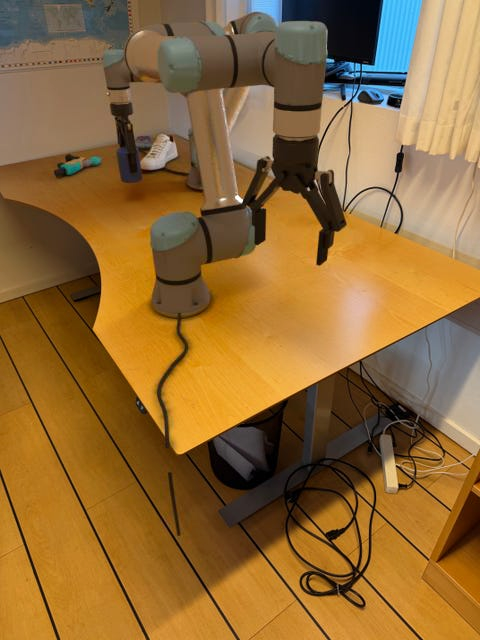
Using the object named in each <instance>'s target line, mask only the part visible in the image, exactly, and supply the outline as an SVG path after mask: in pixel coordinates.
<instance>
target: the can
mask: <svg viewBox="0 0 480 640" xmlns="http://www.w3.org/2000/svg"><path fill="white" fill-rule="evenodd" d="M136 150H137V154H135V156H136V163H137V170H138V172H135V173H130V170H129V163H128V156H127V155H126V154H127V153H128V151H127V147H122V148H121V147H119V148H117V149H116V158H117V163H118V165H117V166H118V171H119V177H120V181H121V182H122V183H125V184H135V183H139V182H141V181H143V174H142V169H141V165H140V162H141V159H140V150H138V148H136ZM132 151H133V150H132Z"/></svg>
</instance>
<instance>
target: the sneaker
mask: <svg viewBox="0 0 480 640" xmlns="http://www.w3.org/2000/svg"><path fill="white" fill-rule="evenodd" d="M153 142H154V144H153V146H152V148H151V149H150V150H148V153H147V155H145V156H144V157H143V158H142V159H140V165H141V170H144V171H156V170H160V169H163V168H162V167H165V166H166V164H167V163H168V162H170V161H172V160H175V159H176V158H177V157H178V156H179V155H178V149H177V144H176V140H175V136H174V135H173V134H164V133H161V134H158V135H157V137H156V139H155V140H154V141H153Z"/></svg>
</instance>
